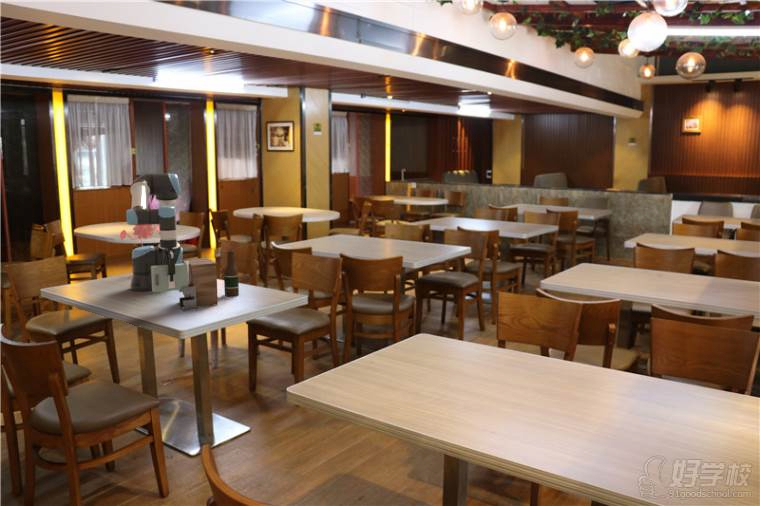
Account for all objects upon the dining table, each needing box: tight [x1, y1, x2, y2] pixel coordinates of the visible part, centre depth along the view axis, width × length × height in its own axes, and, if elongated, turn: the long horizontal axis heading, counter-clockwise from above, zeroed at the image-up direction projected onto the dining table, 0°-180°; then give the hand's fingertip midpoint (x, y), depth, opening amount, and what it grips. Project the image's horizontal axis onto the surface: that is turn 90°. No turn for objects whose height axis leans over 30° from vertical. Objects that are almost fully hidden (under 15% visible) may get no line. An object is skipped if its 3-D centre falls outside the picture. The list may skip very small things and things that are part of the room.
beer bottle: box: [223, 250, 240, 298], centre depth 342 cm, size 8×8×24 cm
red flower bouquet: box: [119, 224, 160, 274], centre depth 389 cm, size 15×26×35 cm, turn 130°
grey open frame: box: [178, 283, 197, 312], centre depth 314 cm, size 8×6×12 cm
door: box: [151, 261, 189, 294], centre depth 308 cm, size 5×17×13 cm, turn 122°
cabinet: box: [182, 257, 219, 308], centre depth 326 cm, size 18×13×21 cm
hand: (170, 286), depth 309 cm, fingers closed on door, 4 cm apart
